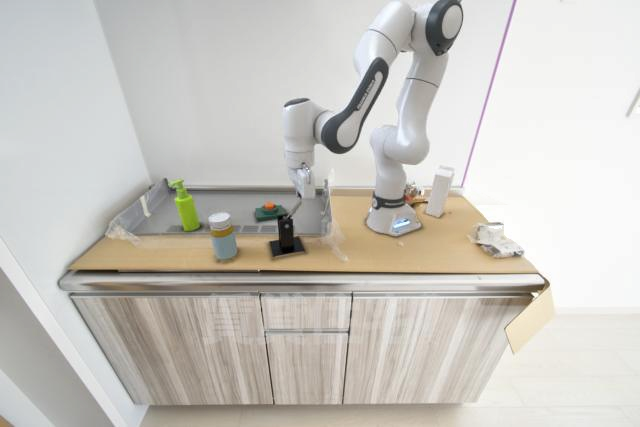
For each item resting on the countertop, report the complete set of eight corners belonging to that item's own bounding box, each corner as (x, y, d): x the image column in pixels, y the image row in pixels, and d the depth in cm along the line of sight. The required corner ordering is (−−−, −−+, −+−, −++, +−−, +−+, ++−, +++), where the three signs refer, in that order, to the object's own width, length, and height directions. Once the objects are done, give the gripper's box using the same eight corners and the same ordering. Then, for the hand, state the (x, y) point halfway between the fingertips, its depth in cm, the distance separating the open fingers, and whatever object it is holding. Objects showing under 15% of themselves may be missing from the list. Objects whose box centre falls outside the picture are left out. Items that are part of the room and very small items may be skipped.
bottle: (231, 263, 78) (223, 224, 71) (212, 260, 79) (202, 221, 72) (241, 250, 84) (235, 213, 77) (223, 248, 85) (215, 210, 78)
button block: (282, 208, 112) (281, 201, 110) (285, 218, 105) (285, 209, 103) (255, 212, 109) (254, 204, 107) (257, 222, 101) (256, 213, 99)
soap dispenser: (178, 230, 95) (163, 182, 85) (192, 222, 100) (179, 176, 91) (189, 233, 93) (175, 185, 83) (203, 225, 98) (191, 179, 89)
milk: (438, 217, 107) (452, 170, 96) (424, 213, 110) (436, 166, 100) (443, 213, 111) (456, 166, 100) (429, 208, 114) (441, 163, 104)
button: (273, 205, 107) (273, 202, 106) (275, 209, 104) (274, 205, 103) (264, 206, 106) (264, 203, 105) (265, 210, 103) (265, 207, 102)
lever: (305, 195, 81) (299, 192, 80) (309, 201, 77) (303, 198, 76) (284, 222, 83) (278, 219, 82) (286, 230, 79) (281, 227, 78)
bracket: (298, 238, 91) (297, 208, 85) (305, 252, 83) (304, 221, 77) (269, 243, 88) (266, 213, 82) (273, 259, 80) (270, 226, 74)
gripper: (320, 167, 64) (321, 213, 71) (301, 149, 81) (303, 187, 88) (297, 170, 62) (300, 216, 69) (282, 151, 79) (286, 189, 86)
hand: (301, 200), depth 79 cm, fingers closed on lever, 5 cm apart
